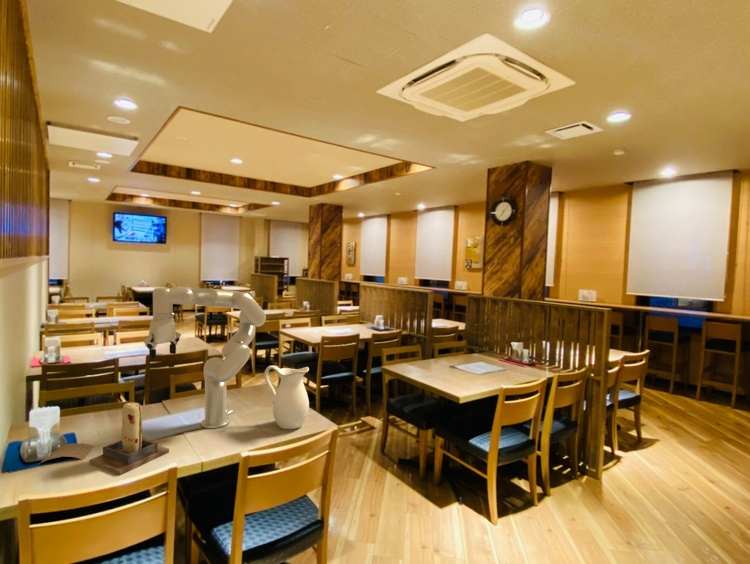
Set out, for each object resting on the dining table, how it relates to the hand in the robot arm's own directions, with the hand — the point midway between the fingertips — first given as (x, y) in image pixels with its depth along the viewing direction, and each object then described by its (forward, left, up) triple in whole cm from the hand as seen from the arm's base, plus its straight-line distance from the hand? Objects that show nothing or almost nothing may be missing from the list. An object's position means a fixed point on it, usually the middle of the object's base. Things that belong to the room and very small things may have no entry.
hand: (163, 355), depth 175 cm
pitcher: (-38, +37, -36) cm, 64 cm away
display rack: (+18, +5, -36) cm, 41 cm away
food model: (+18, +5, -35) cm, 39 cm away
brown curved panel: (+28, -18, -37) cm, 50 cm away
